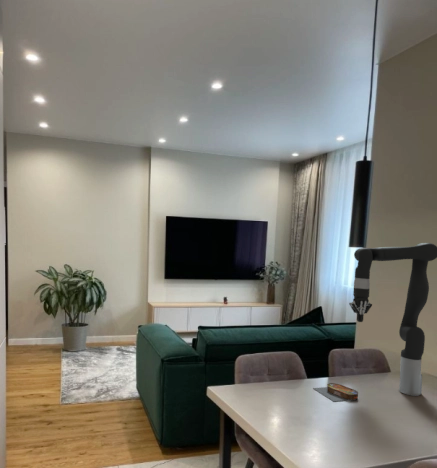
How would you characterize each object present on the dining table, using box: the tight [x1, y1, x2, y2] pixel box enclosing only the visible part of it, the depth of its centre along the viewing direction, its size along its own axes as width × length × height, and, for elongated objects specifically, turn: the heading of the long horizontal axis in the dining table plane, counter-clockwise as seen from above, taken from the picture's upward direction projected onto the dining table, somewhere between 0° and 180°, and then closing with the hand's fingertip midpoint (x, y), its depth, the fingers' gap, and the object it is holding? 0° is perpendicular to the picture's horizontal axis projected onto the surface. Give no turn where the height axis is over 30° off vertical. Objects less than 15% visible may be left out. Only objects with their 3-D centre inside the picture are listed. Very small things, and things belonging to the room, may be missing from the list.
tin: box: [326, 382, 359, 401], centre depth 177 cm, size 15×3×8 cm
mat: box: [312, 386, 357, 403], centre depth 177 cm, size 12×16×1 cm
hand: (359, 321), depth 189 cm, fingers closed
